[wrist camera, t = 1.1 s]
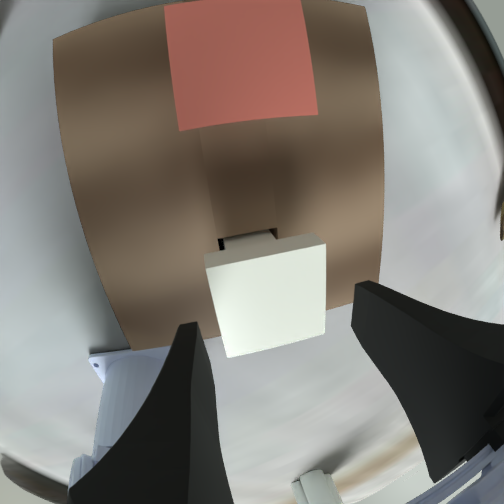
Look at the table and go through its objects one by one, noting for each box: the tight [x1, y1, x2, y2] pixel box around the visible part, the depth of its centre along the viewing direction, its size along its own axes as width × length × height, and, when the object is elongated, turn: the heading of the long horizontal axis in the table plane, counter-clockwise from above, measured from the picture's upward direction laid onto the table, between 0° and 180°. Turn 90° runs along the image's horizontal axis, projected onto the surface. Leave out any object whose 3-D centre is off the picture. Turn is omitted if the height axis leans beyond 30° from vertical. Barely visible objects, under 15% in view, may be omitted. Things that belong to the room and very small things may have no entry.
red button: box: [164, 0, 318, 131], centre depth 9 cm, size 4×4×5 cm
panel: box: [53, 0, 384, 351], centre depth 15 cm, size 18×16×4 cm
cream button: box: [204, 229, 326, 358], centre depth 13 cm, size 4×4×5 cm
